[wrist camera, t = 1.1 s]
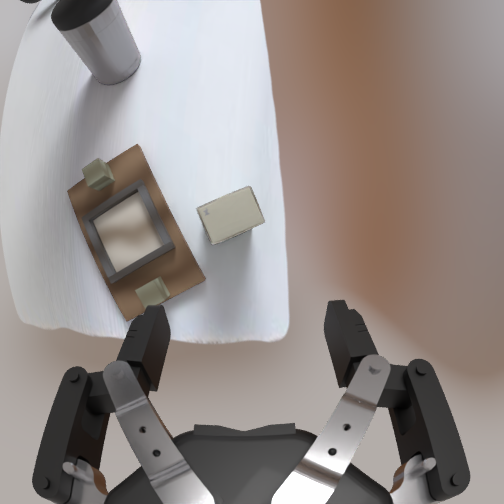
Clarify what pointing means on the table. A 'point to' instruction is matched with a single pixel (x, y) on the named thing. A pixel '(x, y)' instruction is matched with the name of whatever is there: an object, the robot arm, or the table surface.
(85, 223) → the build base
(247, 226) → the skincare box
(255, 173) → the table surface
